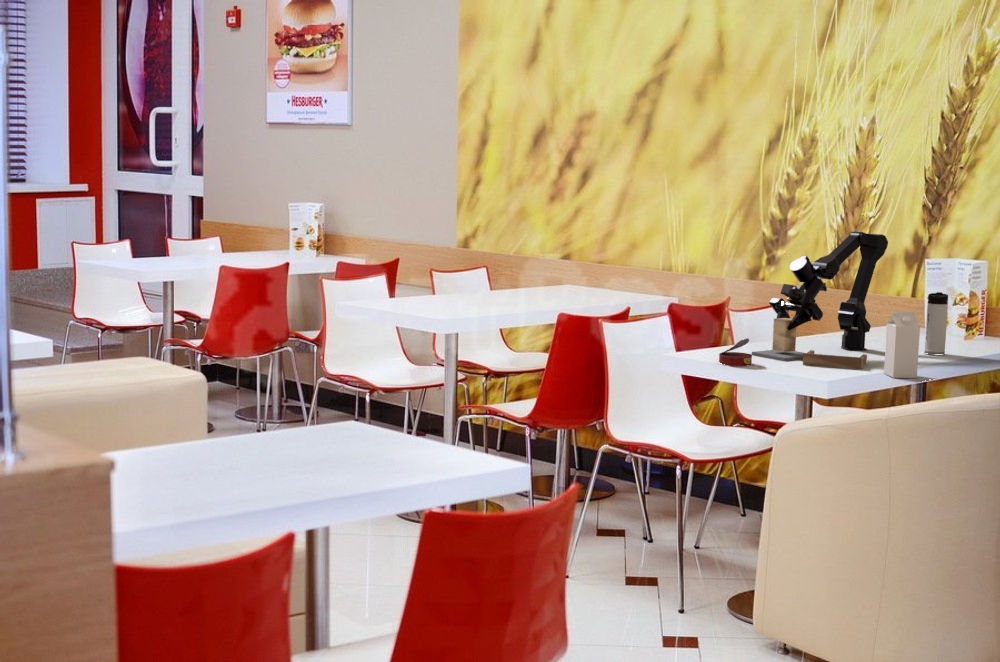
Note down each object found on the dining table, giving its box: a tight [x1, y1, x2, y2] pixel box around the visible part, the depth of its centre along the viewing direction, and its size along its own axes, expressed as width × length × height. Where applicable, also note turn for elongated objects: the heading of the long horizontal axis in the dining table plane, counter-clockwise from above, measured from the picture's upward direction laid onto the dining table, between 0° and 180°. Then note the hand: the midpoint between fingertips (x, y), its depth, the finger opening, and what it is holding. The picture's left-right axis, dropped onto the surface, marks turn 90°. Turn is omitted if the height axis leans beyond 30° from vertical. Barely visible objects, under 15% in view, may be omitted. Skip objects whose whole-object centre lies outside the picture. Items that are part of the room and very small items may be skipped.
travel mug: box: [924, 291, 949, 355], centre depth 417 cm, size 6×7×20 cm
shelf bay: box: [802, 349, 868, 370], centre depth 393 cm, size 12×17×4 cm
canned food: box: [718, 337, 753, 367], centre depth 391 cm, size 11×10×10 cm
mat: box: [751, 349, 805, 362], centre depth 407 cm, size 14×14×1 cm
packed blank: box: [771, 317, 797, 352], centre depth 406 cm, size 5×5×10 cm
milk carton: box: [883, 310, 921, 379], centre depth 372 cm, size 7×7×19 cm
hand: (781, 328), depth 405 cm, fingers closed on packed blank, 5 cm apart
